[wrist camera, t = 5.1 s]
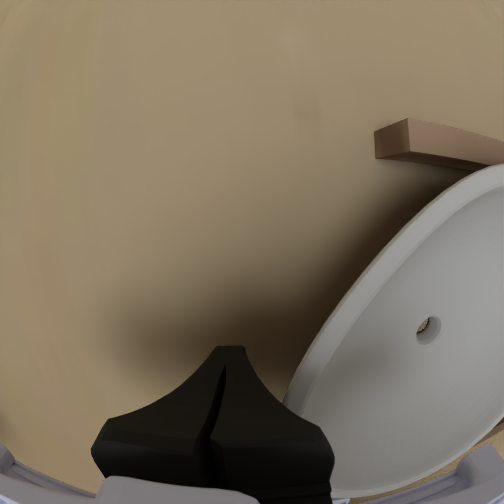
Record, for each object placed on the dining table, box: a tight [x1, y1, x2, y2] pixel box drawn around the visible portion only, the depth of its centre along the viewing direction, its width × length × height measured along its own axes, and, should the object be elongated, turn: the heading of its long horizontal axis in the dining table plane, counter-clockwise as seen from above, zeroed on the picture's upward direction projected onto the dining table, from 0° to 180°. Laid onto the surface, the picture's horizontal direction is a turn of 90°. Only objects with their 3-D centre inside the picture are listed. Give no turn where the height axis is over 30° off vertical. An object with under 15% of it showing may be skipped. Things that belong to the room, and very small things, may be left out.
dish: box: [282, 163, 504, 498], centre depth 11 cm, size 18×14×5 cm
